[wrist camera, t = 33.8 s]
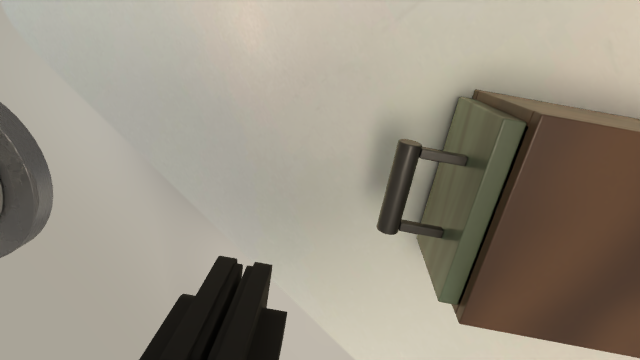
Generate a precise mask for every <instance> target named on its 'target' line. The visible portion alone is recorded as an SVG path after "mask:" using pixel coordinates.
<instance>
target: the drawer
mask: <svg viewBox="0 0 640 360" xmlns="http://www.w3.org/2000/svg"><path fill="white" fill-rule="evenodd" d="M526 124H527V123H526V122H525V121H523V120H520V119H518V118H516V117H514V116H511V115H509V114H507V113H505V112H502V111H500V110H498V109H496V108H493V107H491V106H489V105H487V104H484V103H482V102H480V101H478V100H475V99H470V98H465V97H460V98H459V100H458V104H457V107H456V110H455V113H454V117H453V120H452V123H451V127H450V130H449V133H448V136H447V140H446V143H445V146H444V149H443V151H442V150H436V149H431V148H426V147H422V145H421V144H420V143H418V142H416V141H413V140H408V139H400V140H399V141H398V145H397V149H396V153H395V157H394V160H393V164H392V168H391V172H390V176H389V180H388V184H387V188H386V192H385V196H384V200H383V203H382V207H381V211H380V215H379V219H378V223H377V229H378V230H379V231H381V232H382V233H385V234H389V235H394V234H396V233H397V232H398V229H399V231H404V232H409V233H414V234H417V240H418V243H419V246H420V249H421V252H422V255H423V258H424V261H425V263H426V266H427V269H428V272H429V275H430V278H431V281H432V284H433V287H434V290H435V293H436V296H437V298H438V301H439V302H444V303H449V304H454V305H457V304H458V302H459V299H460V296H461V294H462V291H463V289H464V286H465V283H466V281H467V278H468V276H469V274H470V276H471V274H472V272H473V269H474V267H475V264H476V261H477V259H478V256H479V254H480V251H481V248H482V246H483V243H484V241H485V238H486V235H487V233H488V230H489V228H490V225H491V223H492V220H493V217H494V215H495V208H496V205H497V203H498V197H499V195H500V192H501V191H502V189H503V188H504V185H505V184H506V182H507V181H508V179H509V176H510V173H511V171H512V168H513V166H514V163H515V160H516V158H517V155H518V153H519V150H520V147H521V145H522V142H523V140H524V137H525V135H526V132H527V129H528V126H526ZM418 158H421V159H427V160H432V161H438V162H439V166H438V169H437V172H436V176H435V179H434V182H433V185H432V189H431V192H430V195H429V198H428V202H427V205H426V208H425V212H424V215H423V218H422V221H421V223H418V222H412V221H407V220H402V215H403V211H404V208H405V204H406V201H407V197H408V194H409V190H410V187H411V183H412V180H413V176H414V172H415V169H416V165H417V162H418Z"/></svg>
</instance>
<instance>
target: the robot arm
mask: <svg viewBox="0 0 640 360" xmlns="http://www.w3.org/2000/svg"><path fill="white" fill-rule="evenodd" d="M2 206H3V193H2V186H1V183H0V214H1V211H2ZM242 269H243V265H242V264H237V259H235V258H230V257H224V256H219V257H218V258H217V260H216V262H215V263H214V265H213V267H212V269H211V270H210V272H209V274H208V275H207V277H206V279H205V281H204V283H203V284H202V286H201V287H200V289H199V291H198V293H197V294H196V296H193V295H187V294H182V295H181V296H180V297H179V299H178V300H177V302H176V303H175V305H174V306H173V308H172V310H171V311H170V313H169V314H168V316H167V317H166V319H165V320H164V322H163V324H162V325H161V327H160V328H159V330H158V331H157V333H156V334H155V336H154V338H153V339H152V341H151V342H150V344H149V345H148V347H147V349H146V350H145V352H144V353H143V355H142V356H141V358H140V359H139V360H279V356H280V351H281V346H282V340H283V335H284V329H285V323H286V317H287V312H284V311H279V310H273V309H267V308H266V306H267V299H268V292H269V286H270V279H271V272H272V265H269V264H264V263H258V262H255V263H254V265H253V266H247V267H246V269H245V272H244V274H243V276H242ZM241 278H242V279H241Z"/></svg>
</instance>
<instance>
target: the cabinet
mask: <svg viewBox="0 0 640 360" xmlns="http://www.w3.org/2000/svg"><path fill="white" fill-rule="evenodd" d="M472 99H475V100H478V101H480V102H482V103H484V104H487V105H489V106H491V107H493V108H496V109H498V110H500V111H502V112H505V113H507V114H509V115H511V116H514V117H516V118H518V119H520V120H523V121H525V122H526V123H527V124H526V126H528V129H527V132H526V135H525V137H524V140H523V142H522V145H521V147H520V150H519V153H518V155H517V158H516V160H515V163H514V166H513V168H512V171H511V173H510V176H509V179H508V181H507V184H506V186H505V189H504V191H503V194H502V197H501V199H500V202H499V204H498V207H497V210H496V212H495V215H494V217H493V220H492V223H491V225H490V228H489V230H488V233H487V235H486V238H485V241H484V243H483V246H482V248H481V251H480V254H479V256H478V259H477V261H476V264H475V267H474V269H473V272H472V274H471V276H470V274H469V276H468V278H467V281H466V283H465V286H464V289H463V291H462V294H461V296H460V299H459V302H458V304H457V305H454V304H452V306H453V309H454V311H455V314H456V317H457V319H458V322H459V323H460V324H464V325H469V326H474V327H479V328H485V329H490V330H495V331H500V332H506V333H511V334H516V335H521V336H527V337H532V338H537V339H542V340H547V341H553V342H558V343H563V344H568V345H574V346H579V347H584V348H589V349H595V350H600V351H605V352H610V353H616V354H621V355H626V356H631V357H637V358H640V119H635V118H629V117H624V116H618V115H613V114H607V113H602V112H597V111H591V110H586V109H580V108H575V107H569V106H564V105H558V104H553V103H547V102H542V101H536V100H531V99H525V98H520V97H514V96H509V95H503V94H498V93H492V92H487V91H481V90H475V92H474V95H473V98H472Z"/></svg>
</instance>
